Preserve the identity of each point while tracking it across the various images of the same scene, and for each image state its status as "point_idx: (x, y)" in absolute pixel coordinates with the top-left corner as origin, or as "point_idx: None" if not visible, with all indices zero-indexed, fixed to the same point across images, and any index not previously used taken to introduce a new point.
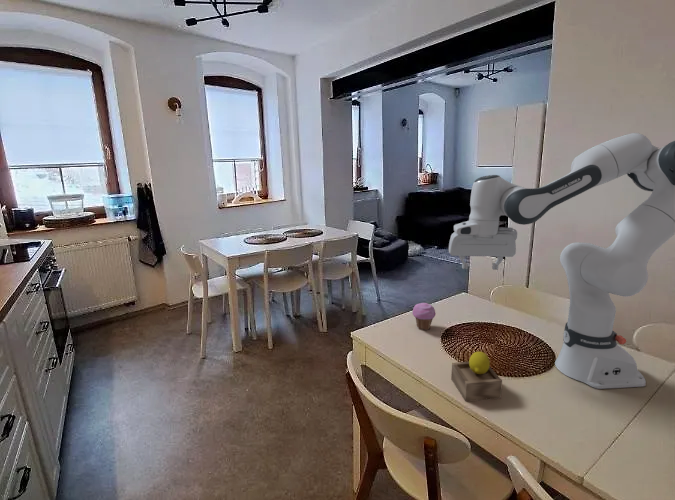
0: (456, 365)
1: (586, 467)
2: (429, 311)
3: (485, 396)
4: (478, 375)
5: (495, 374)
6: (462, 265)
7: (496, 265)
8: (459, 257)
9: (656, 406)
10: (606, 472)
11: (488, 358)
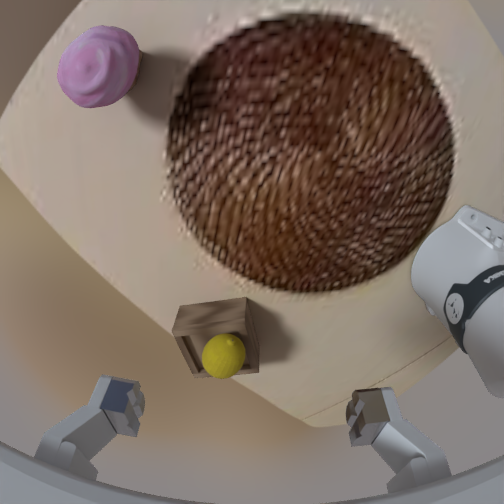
0: (180, 338)
1: (310, 414)
2: (103, 96)
3: None
4: None
5: (252, 359)
6: (98, 392)
7: (369, 440)
8: (48, 440)
9: None
10: (325, 416)
11: (241, 364)
